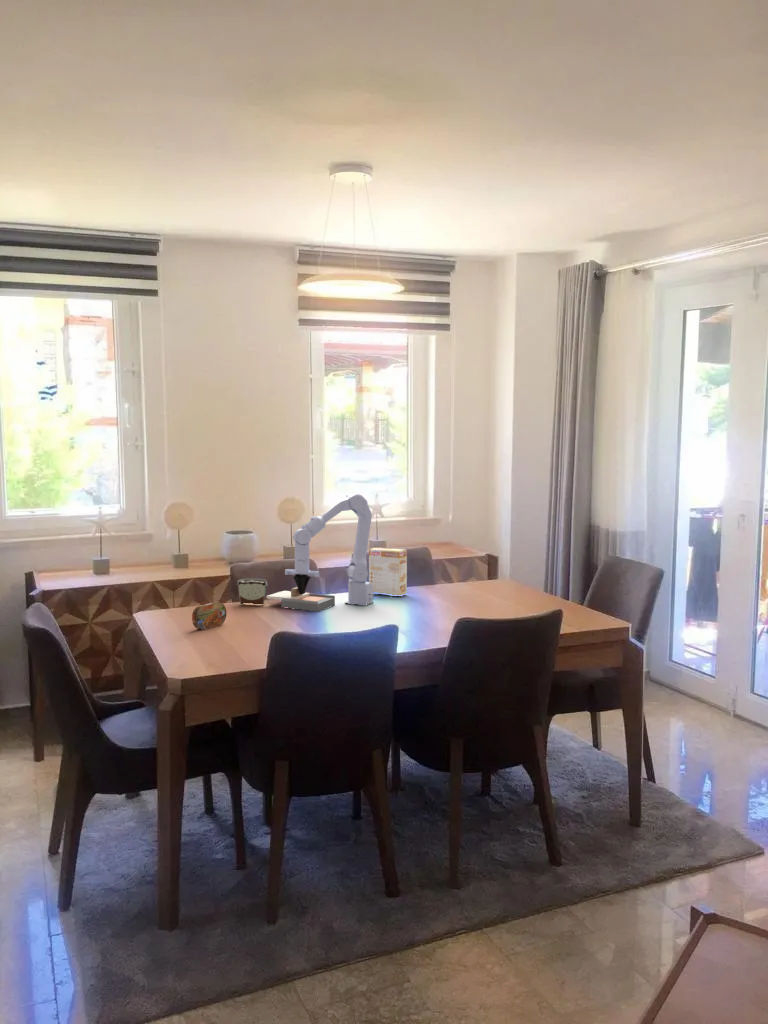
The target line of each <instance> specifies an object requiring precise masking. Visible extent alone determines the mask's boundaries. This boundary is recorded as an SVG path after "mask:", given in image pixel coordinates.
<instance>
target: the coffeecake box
mask: <svg viewBox="0 0 768 1024" xmlns="http://www.w3.org/2000/svg"><path fill="white" fill-rule="evenodd" d="M407 565H408V550H407V549H403V548H392V547H391V548H390V547H389V548H388V547H372V548H369V549H368V582H370V583H372V586H373V592H379V593H386V594H392V595H402V594H405V593H407V592H408V591H407V589H408V587H407V585H408V582H407V581H408V575H407V574H408V566H407Z"/></svg>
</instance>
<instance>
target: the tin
mask: <svg viewBox="0 0 768 1024" xmlns="http://www.w3.org/2000/svg"><path fill="white" fill-rule="evenodd" d="M191 617H192V618H191V619H192V620H191V621H192V622H191V623H192V624H193V627H194V628H195V629H197V630H203V631H206V630H209V629H212V628H216V626H217V627H220V626H222V625H223V624H224V622H225V621H226V618H227V608H226V606H225V604H224V603H222V602H220V601H216V602H215V601H214V602H209V603H205V604H202V605H198V606H196V607H195V608H194V609H193V611H192V615H191ZM219 625H220V626H219ZM205 629H206V630H205Z"/></svg>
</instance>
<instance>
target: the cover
mask: <svg viewBox="0 0 768 1024" xmlns="http://www.w3.org/2000/svg"><path fill="white" fill-rule="evenodd" d="M307 596H310V592H305V594H299V590H298V586H296V587H292V588H291V589H290V591H289V590H282V591H277V592H274V593H272V594H269V595H268V594H267V595H266V599H269V600H279V601H282V600H281V598H286V599H301V598H304V597H307Z"/></svg>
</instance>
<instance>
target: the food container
mask: <svg viewBox="0 0 768 1024" xmlns="http://www.w3.org/2000/svg"><path fill="white" fill-rule="evenodd" d="M236 586H237V588H238V596H239V604H243V603H253V604H264V605H265V597H266V590H267V589H266V588H267V587H268V586H269V585H268V581H267V579H264V578H242V579H238V580H237V583H236Z"/></svg>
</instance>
